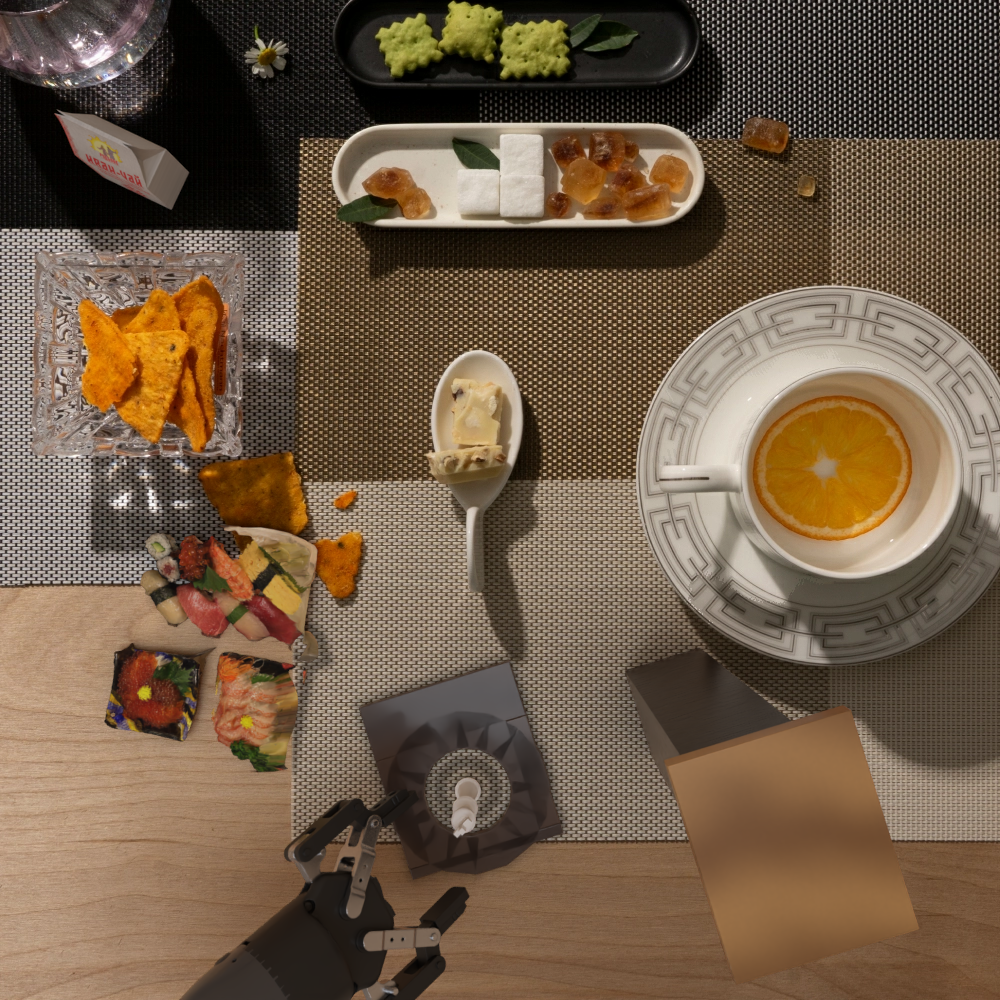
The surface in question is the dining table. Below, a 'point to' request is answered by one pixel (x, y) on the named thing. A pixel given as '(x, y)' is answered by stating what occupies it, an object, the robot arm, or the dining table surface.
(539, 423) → the dining table surface
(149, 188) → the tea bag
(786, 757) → the tan rectangular panel
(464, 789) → the chess piece
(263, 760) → the food
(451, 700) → the board
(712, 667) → the pillar
